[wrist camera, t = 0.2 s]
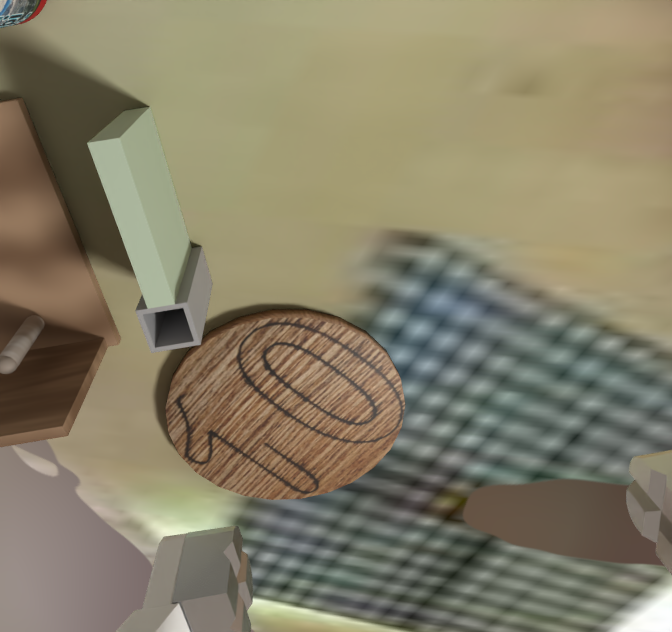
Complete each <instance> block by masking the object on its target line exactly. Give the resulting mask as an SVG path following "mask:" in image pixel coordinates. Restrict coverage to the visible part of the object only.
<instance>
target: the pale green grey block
mask: <svg viewBox="0 0 672 632" xmlns="http://www.w3.org/2000/svg"><path fill="white" fill-rule="evenodd" d="M87 144H88V147H89V149H90V152H91V155H92V158H93V160H94V163H95V166H96V169H97V171H98V174H99V177H100V180H101V182H102V185H103V188H104V191H105V193H106V196H107V199H108V202H109V204H110V207H111V210H112V212H113V215H114V218H115V221H116V223H117V226H118V229H119V232H120V234H121V237H122V240H123V243H124V245H125V248H126V251H127V254H128V256H129V259H130V262H131V264H132V267H133V270H134V273H135V275H136V278H137V281H138V284H139V286H140V289H141V292H142V296H141V299H140V301H139V303H138V306H137V308H136V314H137V316H138V319H139V322H140V324H141V327H142V329H143V332H144V335H145V337H146V340H147V343H148V345H149V348H150V350H151V353H154V352H160V351H166V350H172V349H178V348H184V347H190V346H196V345H201V340H202V335H203V330H204V325H205V320H206V315H207V310H208V305H209V300H210V295H211V289H212V280H211V276H210V273H209V269H208V266H207V262H206V259H205V255H204V252H203V248H202V246H201V247H195V248H192V247H191V243H190V240H189V237H188V233H187V230H186V227H185V223H184V220H183V216H182V213H181V210H180V206H179V203H178V199H177V196H176V193H175V189H174V186H173V183H172V179H171V176H170V172H169V169H168V166H167V162H166V159H165V155H164V152H163V149H162V145H161V142H160V139H159V135H158V132H157V128H156V125H155V122H154V118H153V115H152V111H151V108H150V107H145V108H138V109H132V110H126V111H123V112H122V113H121V114H120V115H119V116H118V117H116V118H115V119H114V120H113V121H112V122H111V123H110V124H108V125H107V126H106V127H105V128H104V129H103V130H101V131H100V132H99V133H98V134H97V135H96V136H95V137H93V138H92V139H91V140H90V141H89V142H88V143H87Z"/></svg>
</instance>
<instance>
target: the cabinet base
mask: <svg viewBox="0 0 672 632" xmlns="http://www.w3.org/2000/svg"><path fill="white" fill-rule="evenodd" d="M120 340H121V338H120V335H119V333H118V330H117V328H116V325H115V323H114V320H113V318H112V316H111V313H110V311H109V308H108V306H107V303H106V301H105V298H104V296H103V294H102V291H101V289H100V286H99V284H98V281H97V279H96V276H95V274H94V272H93V269H92V267H91V264H90V262H89V259H88V257H87V254H86V252H85V250H84V247H83V245H82V242H81V240H80V237H79V235H78V232H77V230H76V228H75V225H74V223H73V220H72V218H71V215H70V213H69V210H68V208H67V206H66V203H65V201H64V198H63V196H62V193H61V191H60V188H59V186H58V184H57V181H56V179H55V176H54V174H53V171H52V169H51V166H50V164H49V162H48V159H47V157H46V154H45V152H44V149H43V147H42V144H41V142H40V140H39V137H38V135H37V132H36V130H35V127H34V125H33V123H32V120H31V118H30V115H29V113H28V110H27V108H26V105H25V103H24V101H23V98H17V99H11V100H4V101H0V447H4V446H10V445H16V444H22V443H28V442H33V441H40V440H46V439H52V438H58V437H64V436H68V434H69V432H70V430H71V428H72V426H73V423H74V421H75V419H76V417H77V414H78V412H79V410H80V408H81V405H82V403H83V401H84V399H85V397H86V394H87V392H88V390H89V388H90V385H91V383H92V381H93V379H94V377H95V374H96V372H97V370H98V368H99V365H100V363H101V361H102V359H103V357H104V354H105V352H106V350H107V348H108V346H114V345H119V343H120Z"/></svg>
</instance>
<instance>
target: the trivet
mask: <svg viewBox="0 0 672 632" xmlns="http://www.w3.org/2000/svg"><path fill="white" fill-rule="evenodd" d="M404 409H405V400H404V395H403V389H402V383H401V379H400V376H399V373H398V371H397V369H396V367H395V365H394V364H393V362H392V360H391V358H390V356H389V355H388V353H387V351H386V350H385V349H384V348H383V347H382V346H381V345H380V344H379V343H378V342H377V341H376V340H375V339H374V338H373V337H372V336H371V335H369V334H368V333H367V332H366V331H365V330H363V329H361V328H359V327H357V326H355V325H353V324H351V323H349V322H347V321H346V320H344V319H342V318H340V317H337V316H333V315H328V314H324V313H320V312H316V311H311V310H307V309H272V310H267V311H263V312H259V313H254V314H250V315H245V316H241V317H238V318H236V319H234V320H232V321H230V322H228V323H226V324H224V325H222V326H220V327H218V328H216V329H214V330H212V331H210V332H209V333H208V334H207V335H206V336H204V337H203V338H202V340H201V345H196V346H193V347H192V348H191V349H190V350H188V352H187V353H186V355H185V356H184V358H183V360H182V361H181V363H180V364H179V366H178V368H177V369H176V371H175V372H174V374H173V378H172V382H171V386H170V390H169V395H168V399H167V403H166V408H165V410H166V418H167V426H168V433H169V435H170V437H171V439H172V441H173V443H174V445H175V447H176V449H177V451H178V453H179V455H180V456H181V457H182V458H183V459H184V460H185V461H186V462H187V463H188V464H189V465H190V466H191V467H192V468H193V469H194V471H195V472H196V473H198V474H199V475H201V476H203V477H204V478H206V479H207V480H209V481H211V482H212V483H214V484H215V485H217V486H219V487H221V488H224V489H227V490H230V491H233V492H236V493H238V494H241V495H244V496H250V497H257V498H264V499H271V500H277V499H301V498H306V497H310V496H315V495H319V494H324V493H328V492H330V491H333V490H335V489H337V488H340V487H342V486H344V485H347V484H349V483H351V482H353V481H355V480H356V479H358V478H359V477H360V476H362V475H363V474H365V473H366V472H368V471H369V470H371V469H372V468H374V467H375V465H376V464H377V463H378V462H379V461H380V460H381V459H382V458H383V457H384V456H385V454H386V453H387V452H388V451H389V450H390V449H391V447H392V445H393V443H394V441H395V439H396V437H397V435H398V433H399V431H400V429H401V427H402V421H403V415H404Z"/></svg>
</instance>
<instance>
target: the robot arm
mask: <svg viewBox="0 0 672 632" xmlns="http://www.w3.org/2000/svg"><path fill="white" fill-rule="evenodd" d="M629 473H630V474H631V475H632V476H633V478H634V479H635V480H634V481H633V482H632V483H631V484H630V486H629V487H628V488H627V496H626V502H627V507H628V511H629V515H630V517H631V519H632V521H633V523H634V525H635V526H636V528H637V529H638V530H639V532H640V533H641V535H642V536H644V537H646V538H648V539H650V540H652V541H654V542H656V543H657V544H656V555H657V556H658V557H659V559H660V560H661V561H662V563H663V564H664V565H665V567H666V568H667V569H668V571H669V572H670V573H671V575H672V450H668V451H662V452H657V453H652V454H646V455H641V456H635V457H633V459H632V460H631V462H630V467H629ZM242 541H243V538H242V535H241V532H240V529H239V527H238V526H231V527H224V528H217V529H210V530H203V531H197V532H190V533H187V534H180V535H173V536H166V537H163V539H162V540H161V542H160V543H159V546H158V550H157V554H156V558H155V561H154V565H153V569H152V573H151V577H150V581H149V584H148V589H147V592H146V596H145V600H144V604H143V607H142V609H141V610H135V611H134V612H133V613H132V614H131V615H130V616H129V617H128V619H127V620H126V621H125V622H124V623H123V624H122V625H121V626H120V628H119V629H118V630H117V631H116V632H251V623H250V620H249V616H248V613H247V610H248V609H249V607H250V606H251V604H252V599H253V584H252V572H251V566H250V562H249V558H248V555H247V554H246V553H245V552H243V551H242Z"/></svg>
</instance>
